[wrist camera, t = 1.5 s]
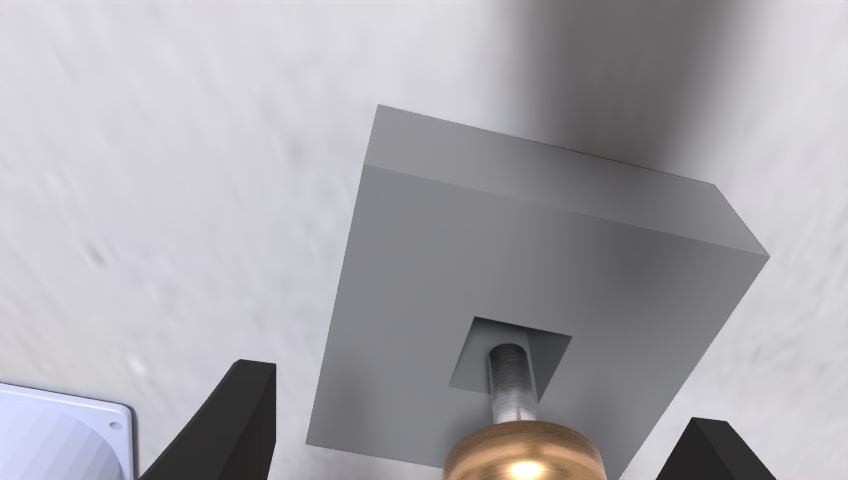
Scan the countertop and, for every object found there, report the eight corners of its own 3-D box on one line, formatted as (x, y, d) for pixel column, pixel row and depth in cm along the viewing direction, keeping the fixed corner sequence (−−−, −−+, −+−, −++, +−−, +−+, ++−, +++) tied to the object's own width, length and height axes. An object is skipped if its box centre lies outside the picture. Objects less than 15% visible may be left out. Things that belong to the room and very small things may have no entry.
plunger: (547, 412, 20) (577, 582, 16) (428, 389, 20) (424, 558, 15) (594, 322, 18) (646, 489, 13) (462, 295, 18) (469, 457, 13)
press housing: (585, 410, 26) (606, 497, 22) (324, 360, 24) (305, 444, 21) (714, 185, 20) (770, 256, 16) (378, 104, 18) (363, 164, 15)
